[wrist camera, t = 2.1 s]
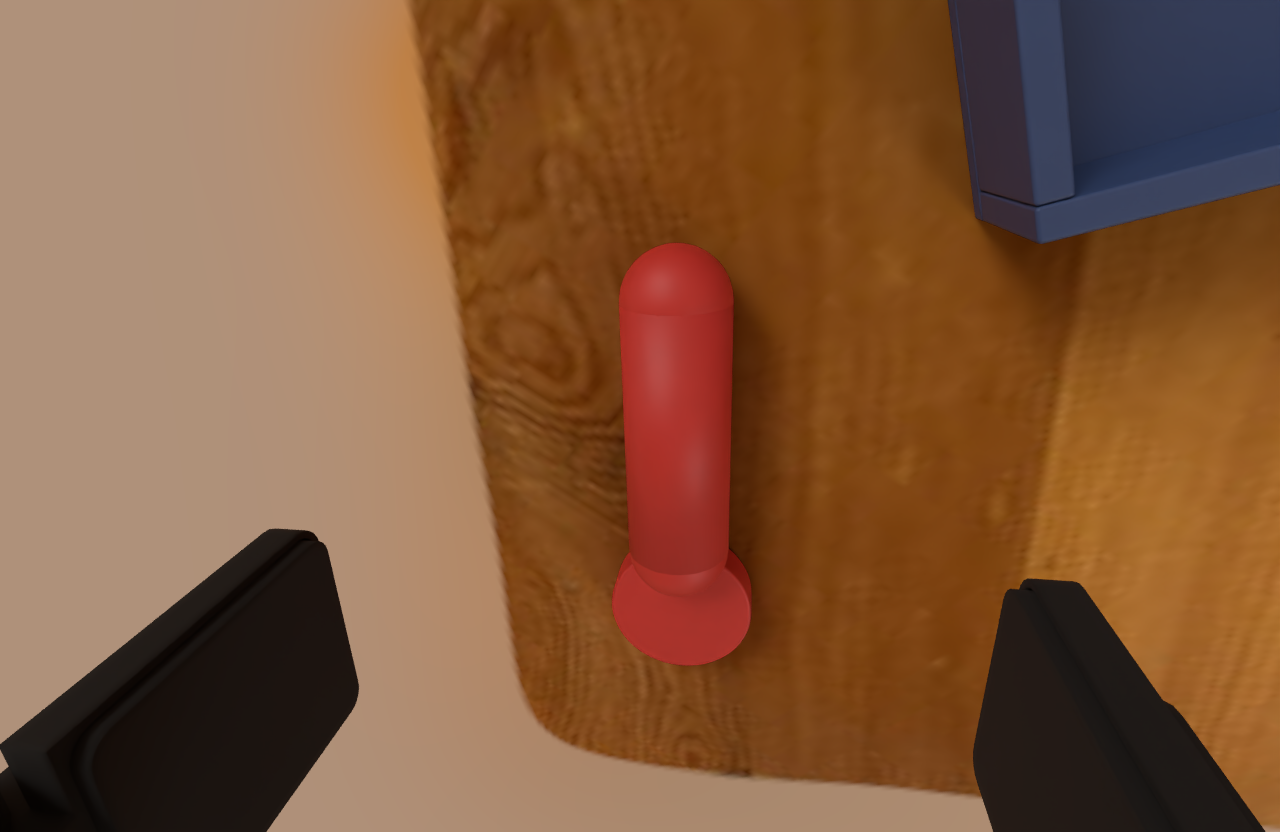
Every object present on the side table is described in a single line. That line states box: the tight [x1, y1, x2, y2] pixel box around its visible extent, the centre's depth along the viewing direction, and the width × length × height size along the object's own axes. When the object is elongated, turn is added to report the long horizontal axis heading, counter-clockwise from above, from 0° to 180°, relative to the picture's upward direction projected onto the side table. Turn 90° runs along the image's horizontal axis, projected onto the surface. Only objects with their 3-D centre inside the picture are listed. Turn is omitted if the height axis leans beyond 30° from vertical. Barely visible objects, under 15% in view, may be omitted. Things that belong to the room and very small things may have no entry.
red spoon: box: [612, 243, 752, 666], centre depth 16 cm, size 11×4×2 cm, turn 2°
